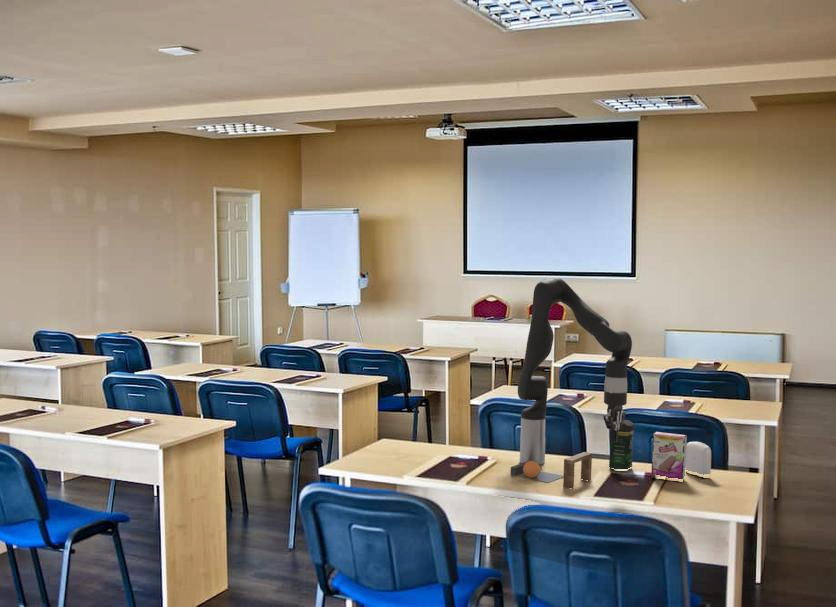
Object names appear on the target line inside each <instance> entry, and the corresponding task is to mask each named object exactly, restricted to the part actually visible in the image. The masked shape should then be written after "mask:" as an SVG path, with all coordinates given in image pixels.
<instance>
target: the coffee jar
mask: <svg viewBox="0 0 836 607" xmlns="http://www.w3.org/2000/svg"><path fill="white" fill-rule="evenodd" d="M634 429H635V424H634V423H633V422H632V421H631V420H630V419H624V421H623V424H622V427H619V430H618V441H615V442H614V441H610V443H609V444H610V446H609V447H610V448H609V463H608V468H609V467H610V468H614V469H628V468H630V467H632V468H633V451H634V450H633V449H634V448H633V446H634V445H633V444H634V434H635V432H634V431H635V430H634Z"/></svg>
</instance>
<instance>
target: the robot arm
mask: <svg viewBox="0 0 836 607" xmlns="http://www.w3.org/2000/svg"><path fill="white" fill-rule="evenodd" d="M532 296H533V298H532V312H531V319H530V324H529V326H530V327H529V331H528V336H527V342H526V349H525V354H524V361H523V364H522V367H521V371H520V372H521V373H520V375H519V378H518V379H519V380H518V383H517V395H518V398H519V399H520V400H522V401H535V402H534V403H533V404H532V405H530V406H529V407H526V408H524V409H522V410H521V414H520V440H519V442H520V447H519V462H520V463H519V464H521V463H524V462H527V461H534V462H536V463H537V464H538V465H539V466H541V465H544V463H545V461H546V460H545V458H546V415H547V400H548V391H549V389H548V388H549V386H548V385H549V384H548V380H547V378H546V377H545V376H541V375H533V374H534V372H535V371H536V369H537V368H538V367H539V366H540V365H541V364H542V363H543V362H544V361H545V360H546V359H547V358H548V357H549V356H550V355H551V352H552V350H553V349H552V347H553V342H554V337H555V336H554V335H555V334H554V330H553V328H552V326H551V323H550V321H549V317H550V312H551V308H552V306H553V305H556V304H558V303H562V304H564V305H566V306H567V307H568V308H570V310H571V311H572V313H573V315H574V317H575V321H576V322H577V323H578V325H579V326H580V327H582V328H583V329H584V331H586V332H587V333H589V334H590V335H591V336H592V337H594V338H595V340H596V341H597V342H598V343H599V345H601V347H602V348H603V349H605V350H606V351H607V352H610V353H611V357H610V358H609V359H607V360H606V363H605V376H604V377H605V379H604V385H603V386H604V387H603V388H604V390H603V403H604V404H605V405H607V408H606V414H604V415H603V416H602V418H603V420H604V423H605V427H606V428H607V430H609V431H610V432H609V440H610V442H611V441H614V442H615V441H618V430H619V427H622V424H623V421H624V420H625V417H626V414H627V413H626V411H623V409H624V407H623V406H626V405H627V403H628V402H627V401H628V400H627V399H628V378H627V377H628V363H629V360H630V356H631V353H632V352H631V351H632V347H633V340H632V337H631V334H630V333H629V332H628V331H625V330H614V329H612V328H611V327H610V323H609V321H608V320H607V319H606V318H604V316H602V315H600V314H599V313H598V312H596V311H595V310H594V309H592V308H591V307H590V306H589V305H588V304H587V303H586V302H585V301H584V300H583V299H582V298H581V297H580V296H579V295H578V294H577V293H576V291H574V289H572V287H571V286H570V285H569V284H568V283H567V282H566V281H564V280H563V279H562V278H561V277H558V276H554V277H550V278H547V279H544V280H541V281H539V282H538V283H537V284H535V287H534V290H533V295H532Z"/></svg>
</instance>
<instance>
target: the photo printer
mask: <svg viewBox="0 0 836 607" xmlns="http://www.w3.org/2000/svg"><path fill="white" fill-rule="evenodd" d="M685 468H686V469H685V470H688V471H692V472H697V473H699V474H703V475H704V474H711V473H712V472H711V471H712V469H711V468H712V450H711V447H709V445H707V444H706V443H703V442H700V441H689V442H686V459H685Z"/></svg>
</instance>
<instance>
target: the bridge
mask: <svg viewBox="0 0 836 607" xmlns="http://www.w3.org/2000/svg"><path fill="white" fill-rule="evenodd" d="M579 462H580V464H581V465H580V480H581V479H583V480H588V481H587V482H590V481H589V480H591V481H592V463H593V453H592V452H587V451H583V452H581V453H577V454H575V455H572V456H570V457H567V458H564V459H563V478H562V479H563V481H562V488H564V487H565V488H566V489H569V488H572V489H574V488H575V486H574V485H575V464H577V463H579ZM583 480H582V481H583ZM573 487H574V488H573Z"/></svg>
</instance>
